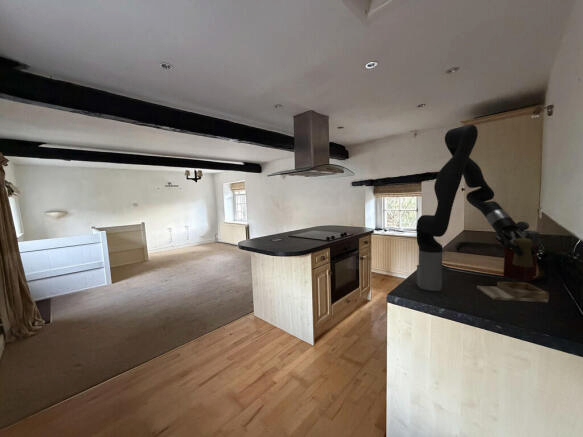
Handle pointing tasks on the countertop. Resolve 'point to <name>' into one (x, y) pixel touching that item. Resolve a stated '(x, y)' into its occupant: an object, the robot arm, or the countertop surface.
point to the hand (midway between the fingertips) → (527, 255)
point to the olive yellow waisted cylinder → (527, 257)
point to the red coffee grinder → (518, 271)
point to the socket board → (515, 292)
